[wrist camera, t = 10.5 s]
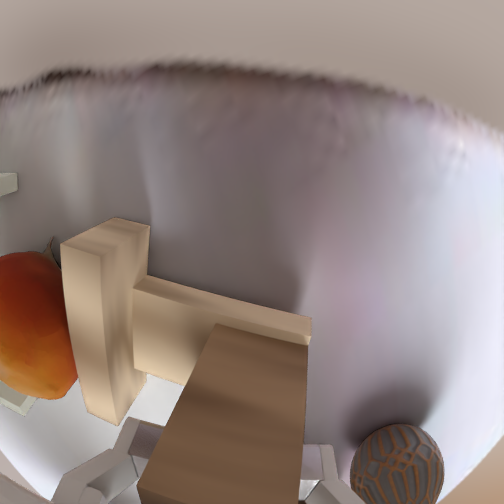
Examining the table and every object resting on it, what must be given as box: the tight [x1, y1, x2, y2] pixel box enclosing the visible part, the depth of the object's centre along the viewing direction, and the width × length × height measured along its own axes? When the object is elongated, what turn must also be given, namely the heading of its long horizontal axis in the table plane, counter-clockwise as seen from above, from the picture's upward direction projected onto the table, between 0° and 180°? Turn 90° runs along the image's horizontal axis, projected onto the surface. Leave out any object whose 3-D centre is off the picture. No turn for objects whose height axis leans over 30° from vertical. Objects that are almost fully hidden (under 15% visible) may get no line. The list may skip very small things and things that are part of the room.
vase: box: [350, 424, 444, 504], centre depth 15 cm, size 7×7×9 cm
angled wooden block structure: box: [60, 217, 311, 504], centre depth 11 cm, size 10×10×10 cm
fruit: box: [0, 237, 78, 400], centre depth 13 cm, size 8×8×8 cm
